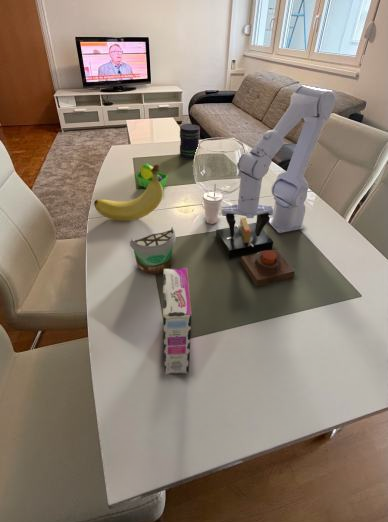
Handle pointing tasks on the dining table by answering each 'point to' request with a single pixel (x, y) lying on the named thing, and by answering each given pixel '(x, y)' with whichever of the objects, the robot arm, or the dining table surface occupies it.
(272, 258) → the button
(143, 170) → the fruit basket
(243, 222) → the tap lever
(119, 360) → the dining table surface
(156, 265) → the food container
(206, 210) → the smoothie
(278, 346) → the dining table surface
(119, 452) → the dining table surface
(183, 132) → the storage jar
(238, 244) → the base
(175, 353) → the candy bar box
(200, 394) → the dining table surface
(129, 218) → the banana
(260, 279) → the block
